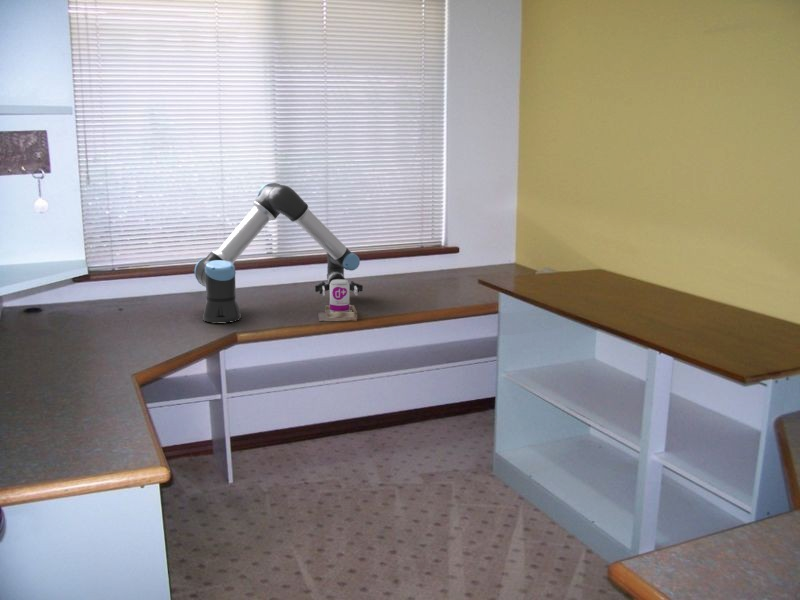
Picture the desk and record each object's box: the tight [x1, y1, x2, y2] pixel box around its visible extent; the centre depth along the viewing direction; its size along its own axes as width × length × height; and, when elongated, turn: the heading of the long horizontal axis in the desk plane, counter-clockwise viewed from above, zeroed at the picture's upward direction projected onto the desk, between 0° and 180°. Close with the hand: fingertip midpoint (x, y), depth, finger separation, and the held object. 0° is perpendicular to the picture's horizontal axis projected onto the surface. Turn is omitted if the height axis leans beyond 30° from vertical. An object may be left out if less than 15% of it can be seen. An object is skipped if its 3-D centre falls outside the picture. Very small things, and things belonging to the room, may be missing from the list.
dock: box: [324, 304, 358, 318], centre depth 315 cm, size 16×15×3 cm
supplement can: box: [329, 279, 351, 313], centre depth 314 cm, size 8×8×15 cm
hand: (340, 292), depth 315 cm, fingers open, 13 cm apart
